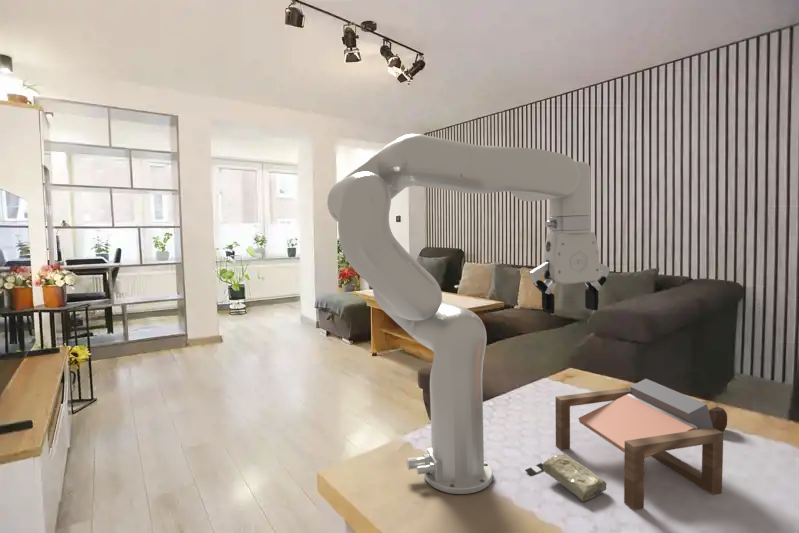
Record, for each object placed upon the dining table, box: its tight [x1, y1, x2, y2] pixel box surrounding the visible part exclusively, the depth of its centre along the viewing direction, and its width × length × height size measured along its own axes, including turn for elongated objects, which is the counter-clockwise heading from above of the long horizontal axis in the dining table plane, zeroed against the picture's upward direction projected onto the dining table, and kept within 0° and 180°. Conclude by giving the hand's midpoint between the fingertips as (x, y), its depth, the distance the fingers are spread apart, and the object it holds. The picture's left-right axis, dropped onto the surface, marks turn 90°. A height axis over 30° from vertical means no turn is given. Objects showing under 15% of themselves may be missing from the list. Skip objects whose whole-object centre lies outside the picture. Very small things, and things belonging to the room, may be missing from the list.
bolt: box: [708, 406, 728, 433], centre depth 102 cm, size 6×5×15 cm
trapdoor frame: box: [555, 387, 724, 511], centre depth 82 cm, size 17×22×10 cm
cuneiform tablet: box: [524, 454, 607, 502], centre depth 79 cm, size 7×4×12 cm
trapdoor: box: [578, 378, 713, 460], centre depth 83 cm, size 16×16×5 cm
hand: (570, 311), depth 89 cm, fingers open, 9 cm apart
